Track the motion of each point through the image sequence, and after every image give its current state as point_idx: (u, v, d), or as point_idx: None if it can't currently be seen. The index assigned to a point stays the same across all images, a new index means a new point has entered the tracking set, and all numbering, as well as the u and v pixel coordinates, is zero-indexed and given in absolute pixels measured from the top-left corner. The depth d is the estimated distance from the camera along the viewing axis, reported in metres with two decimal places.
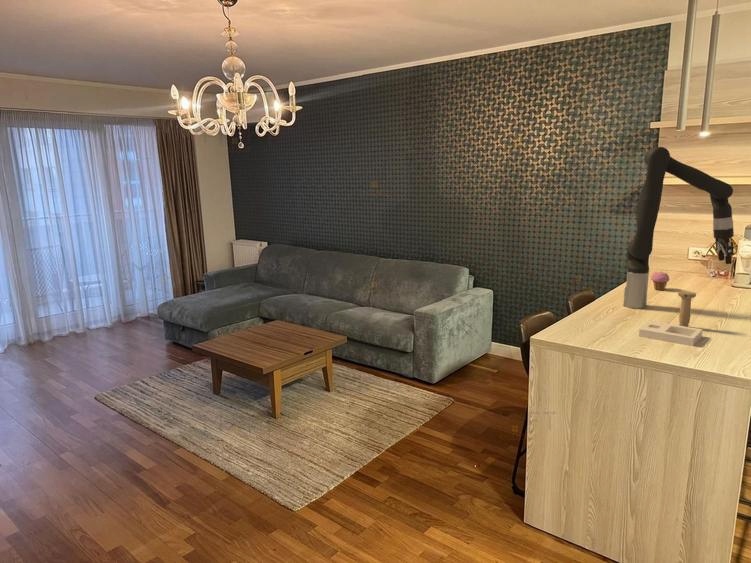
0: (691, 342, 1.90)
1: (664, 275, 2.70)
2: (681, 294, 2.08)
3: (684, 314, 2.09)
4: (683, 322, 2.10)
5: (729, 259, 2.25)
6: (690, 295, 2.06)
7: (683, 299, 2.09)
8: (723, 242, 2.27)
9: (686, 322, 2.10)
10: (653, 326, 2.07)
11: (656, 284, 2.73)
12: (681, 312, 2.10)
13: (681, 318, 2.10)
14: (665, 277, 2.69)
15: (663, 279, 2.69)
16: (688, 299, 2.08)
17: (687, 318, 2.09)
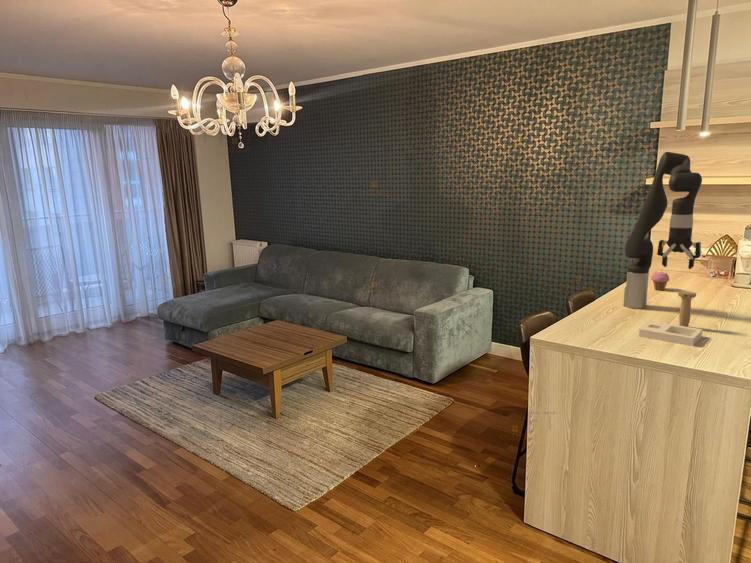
0: (691, 342, 1.90)
1: (664, 275, 2.70)
2: (681, 294, 2.08)
3: (684, 314, 2.09)
4: (683, 322, 2.10)
5: None
6: (690, 295, 2.06)
7: (683, 299, 2.09)
8: None
9: (686, 322, 2.10)
10: (653, 326, 2.07)
11: (656, 284, 2.73)
12: (681, 312, 2.10)
13: (681, 318, 2.10)
14: (665, 277, 2.69)
15: (663, 279, 2.69)
16: (688, 299, 2.08)
17: (687, 318, 2.09)
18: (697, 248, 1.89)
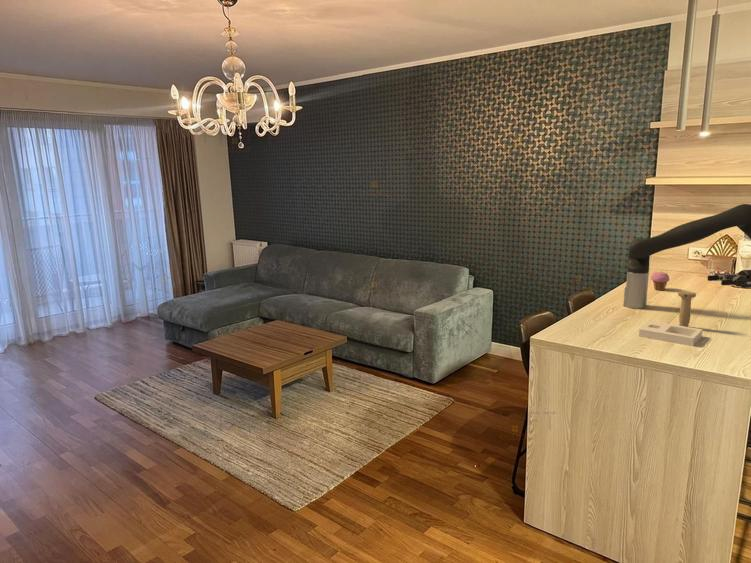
0: (691, 342, 1.90)
1: (664, 275, 2.70)
2: (681, 294, 2.08)
3: (684, 314, 2.09)
4: (683, 322, 2.10)
5: (728, 283, 2.03)
6: (690, 295, 2.06)
7: (683, 299, 2.09)
8: (743, 278, 2.05)
9: (686, 322, 2.10)
10: (653, 326, 2.07)
11: (656, 284, 2.73)
12: (681, 312, 2.10)
13: (681, 318, 2.10)
14: (665, 277, 2.69)
15: (663, 279, 2.69)
16: (688, 299, 2.08)
17: (687, 318, 2.09)
18: None
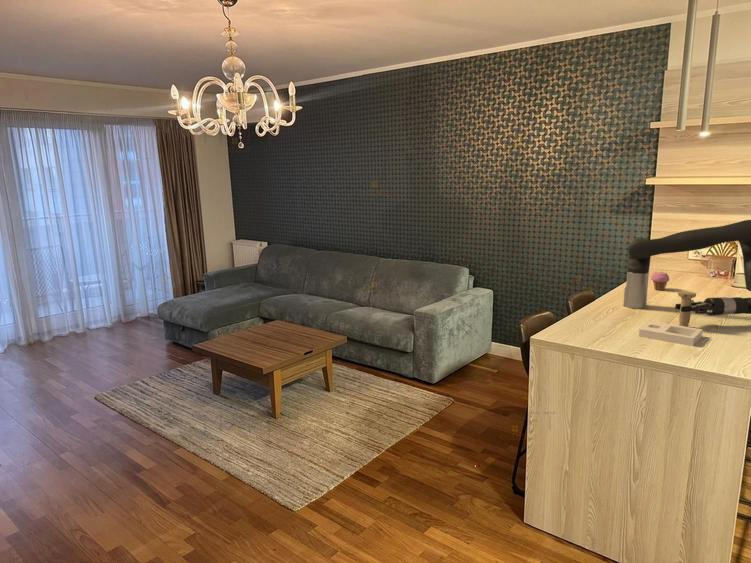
0: (691, 342, 1.90)
1: (664, 275, 2.70)
2: (681, 294, 2.08)
3: (684, 314, 2.09)
4: (683, 322, 2.10)
5: (688, 309, 2.07)
6: (690, 295, 2.06)
7: (683, 299, 2.09)
8: (709, 306, 2.07)
9: (686, 322, 2.10)
10: (653, 326, 2.07)
11: (656, 284, 2.73)
12: (681, 312, 2.10)
13: (681, 318, 2.10)
14: (665, 277, 2.69)
15: (663, 279, 2.69)
16: (688, 299, 2.08)
17: (687, 318, 2.09)
18: None
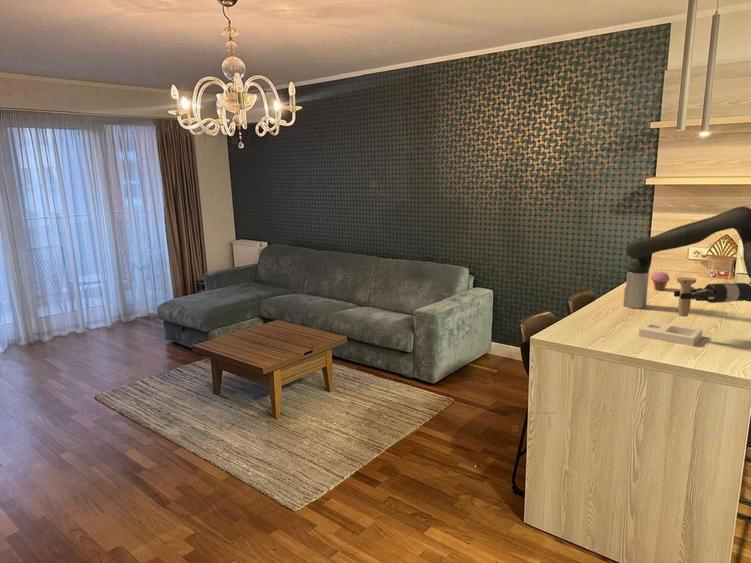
0: (691, 342, 1.90)
1: (664, 275, 2.70)
2: (680, 280, 1.94)
3: (683, 302, 1.95)
4: (683, 310, 1.95)
5: (688, 297, 1.93)
6: (690, 281, 1.91)
7: (682, 285, 1.94)
8: (710, 292, 1.92)
9: (686, 310, 1.95)
10: (653, 326, 2.07)
11: (656, 284, 2.73)
12: (680, 300, 1.95)
13: (680, 306, 1.96)
14: (665, 277, 2.69)
15: (663, 279, 2.69)
16: (688, 285, 1.93)
17: (687, 306, 1.94)
18: None
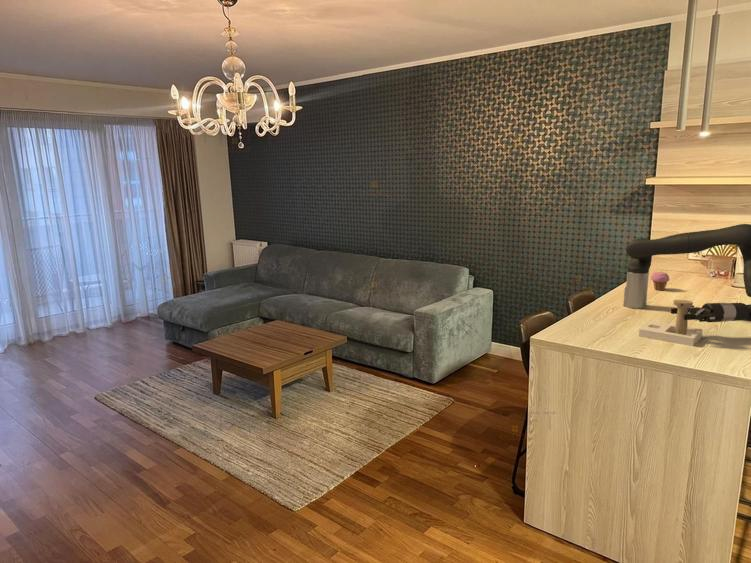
0: (691, 342, 1.90)
1: (664, 275, 2.70)
2: (677, 303, 1.96)
3: (680, 325, 1.96)
4: (680, 333, 1.97)
5: (691, 317, 1.92)
6: (686, 304, 1.93)
7: (679, 308, 1.96)
8: (707, 312, 1.94)
9: (683, 333, 1.97)
10: (653, 326, 2.07)
11: (656, 284, 2.73)
12: (677, 322, 1.97)
13: (678, 329, 1.97)
14: (665, 277, 2.69)
15: (663, 279, 2.69)
16: (684, 308, 1.95)
17: (684, 328, 1.96)
18: None
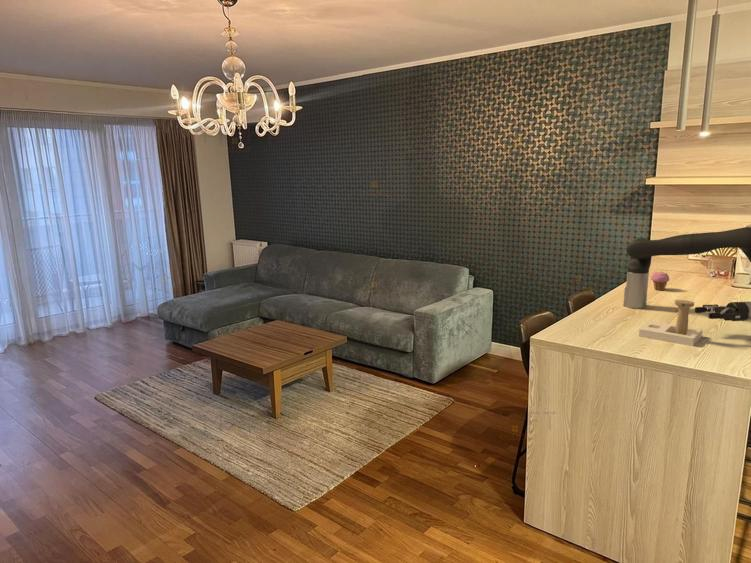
0: (691, 342, 1.90)
1: (664, 275, 2.70)
2: (678, 303, 1.95)
3: (681, 325, 1.96)
4: (680, 333, 1.97)
5: (716, 316, 1.92)
6: (688, 304, 1.93)
7: (680, 308, 1.96)
8: (732, 311, 1.94)
9: (683, 333, 1.97)
10: (653, 326, 2.07)
11: (656, 284, 2.73)
12: (678, 322, 1.97)
13: (678, 329, 1.97)
14: (665, 277, 2.69)
15: (663, 279, 2.69)
16: (686, 309, 1.95)
17: (684, 329, 1.96)
18: None
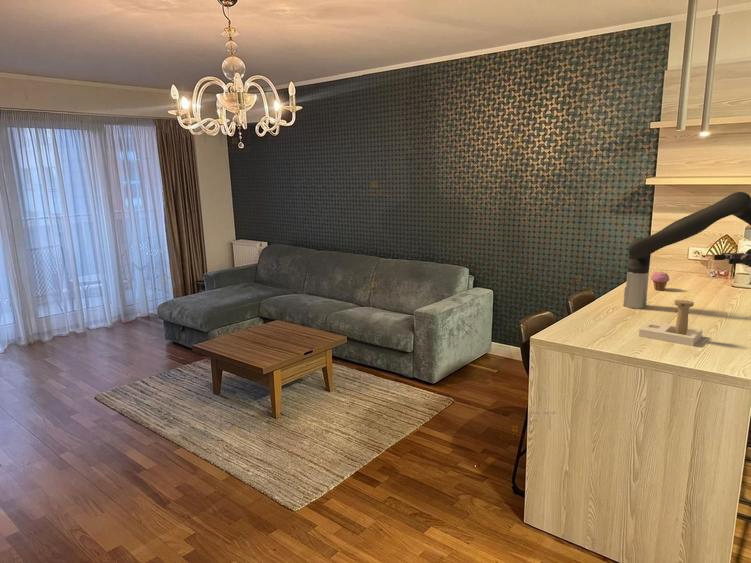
0: (691, 342, 1.90)
1: (664, 275, 2.70)
2: (678, 303, 1.95)
3: (681, 325, 1.96)
4: (680, 333, 1.97)
5: (736, 261, 1.94)
6: (687, 304, 1.93)
7: (680, 308, 1.96)
8: None
9: (683, 333, 1.97)
10: (653, 326, 2.07)
11: (656, 284, 2.73)
12: (678, 322, 1.97)
13: (678, 329, 1.97)
14: (665, 277, 2.69)
15: (663, 279, 2.69)
16: (685, 308, 1.95)
17: (684, 329, 1.96)
18: None
